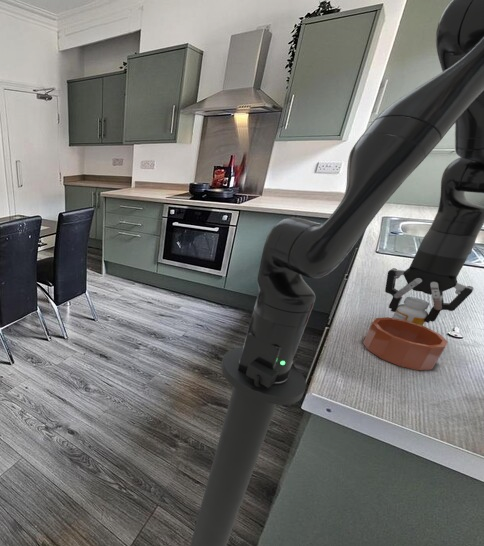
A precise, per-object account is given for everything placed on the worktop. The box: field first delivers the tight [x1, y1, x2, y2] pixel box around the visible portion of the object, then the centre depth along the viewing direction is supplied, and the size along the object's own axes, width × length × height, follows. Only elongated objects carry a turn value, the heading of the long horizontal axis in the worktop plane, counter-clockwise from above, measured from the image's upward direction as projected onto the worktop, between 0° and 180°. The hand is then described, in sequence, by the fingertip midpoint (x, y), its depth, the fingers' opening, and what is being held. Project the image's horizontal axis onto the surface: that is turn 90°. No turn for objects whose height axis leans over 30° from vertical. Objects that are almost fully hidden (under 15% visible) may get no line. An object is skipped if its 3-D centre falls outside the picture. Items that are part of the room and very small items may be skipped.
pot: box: [362, 317, 449, 371], centre depth 70 cm, size 12×12×6 cm
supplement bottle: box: [391, 296, 430, 326], centre depth 76 cm, size 5×5×10 cm
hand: (410, 315), depth 76 cm, fingers closed on supplement bottle, 5 cm apart
